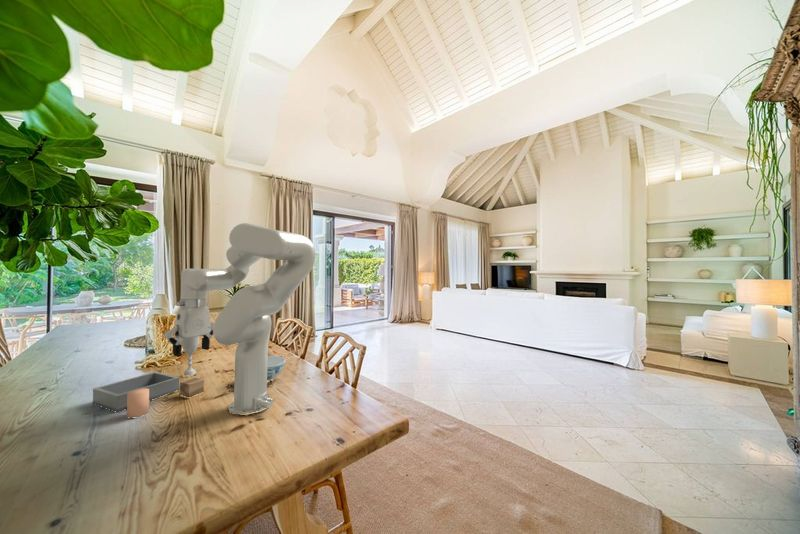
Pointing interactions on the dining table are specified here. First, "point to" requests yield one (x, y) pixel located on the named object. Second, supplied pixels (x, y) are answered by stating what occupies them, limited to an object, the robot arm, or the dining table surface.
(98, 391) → the tray
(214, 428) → the dining table surface
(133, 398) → the terracotta cylinder
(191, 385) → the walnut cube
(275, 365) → the chinaware
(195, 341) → the chalice
